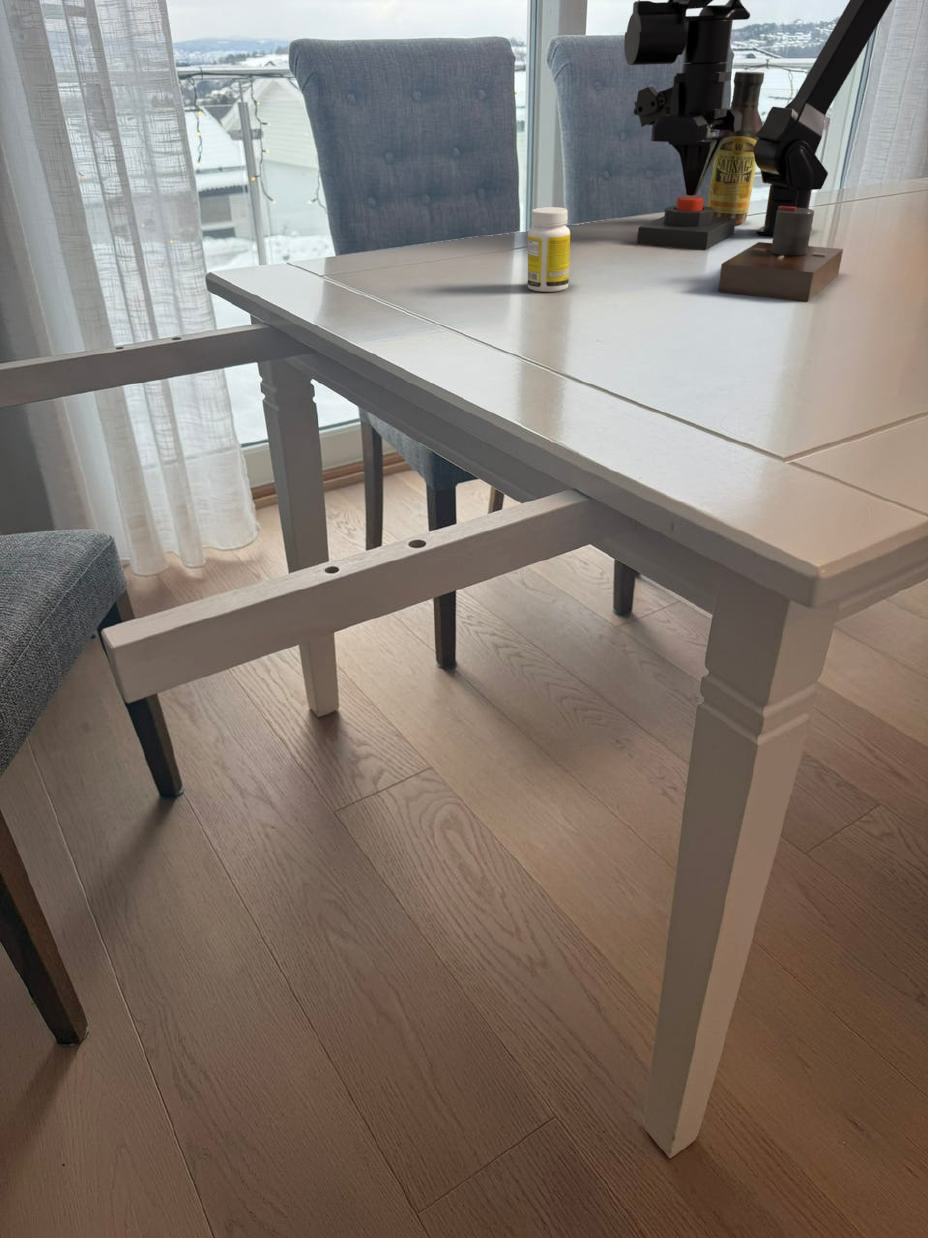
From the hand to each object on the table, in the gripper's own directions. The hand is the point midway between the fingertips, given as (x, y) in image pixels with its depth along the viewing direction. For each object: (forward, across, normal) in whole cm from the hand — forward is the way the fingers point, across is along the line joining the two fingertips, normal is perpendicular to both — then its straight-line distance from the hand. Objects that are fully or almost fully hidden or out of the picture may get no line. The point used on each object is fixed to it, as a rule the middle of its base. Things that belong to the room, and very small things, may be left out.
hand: (691, 194), depth 125 cm
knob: (+3, +19, +19) cm, 27 cm away
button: (+2, 0, 0) cm, 2 cm away
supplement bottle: (+6, +35, -4) cm, 36 cm away
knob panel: (+6, +21, +19) cm, 29 cm away
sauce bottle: (+6, -15, +1) cm, 16 cm away
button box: (+6, 0, 0) cm, 6 cm away
